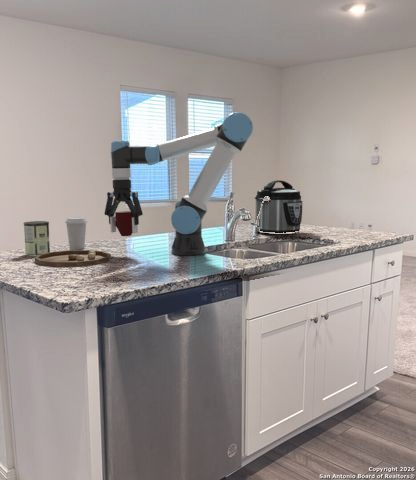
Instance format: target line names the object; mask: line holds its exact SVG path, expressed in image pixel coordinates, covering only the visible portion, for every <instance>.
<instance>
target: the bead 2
mask: <svg viewBox="0 0 416 480" xmlns="http://www.w3.org/2000/svg"><path fill="white" fill-rule="evenodd" d="M88 259H89V260H94V259H95V254H94V253H89V254H88Z"/></svg>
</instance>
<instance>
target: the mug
mask: <svg viewBox="0 0 416 480" xmlns="http://www.w3.org/2000/svg"><path fill="white" fill-rule="evenodd" d="M114 215H115V218H116V221H115V225H116V229H117V230H118V231H117V232H118V233H119V235H120V236H121V237H130V236H132V234H133V233H132V217H133V215H132V213H131V211H130V210H123V211H115V214H114Z"/></svg>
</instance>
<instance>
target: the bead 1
mask: <svg viewBox="0 0 416 480" xmlns="http://www.w3.org/2000/svg"><path fill="white" fill-rule="evenodd" d="M76 260H77V262H78V261H84V256H83V255H78V256H77V257H76Z"/></svg>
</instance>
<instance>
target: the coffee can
mask: <svg viewBox="0 0 416 480" xmlns="http://www.w3.org/2000/svg"><path fill="white" fill-rule="evenodd" d="M23 227H24V228H23V229H24V231H23V232H24V233H23V234H24V247H25V248H24V249H25V254H26V255H29V256H28V257H36V256H38V255H40V254H44V253H49V252H51V248H50V246H51V245H50V221H45V220H35V221H25V222H23ZM26 255H25V256H26Z"/></svg>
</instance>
